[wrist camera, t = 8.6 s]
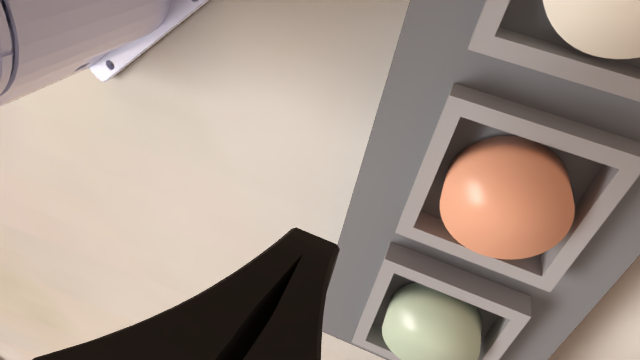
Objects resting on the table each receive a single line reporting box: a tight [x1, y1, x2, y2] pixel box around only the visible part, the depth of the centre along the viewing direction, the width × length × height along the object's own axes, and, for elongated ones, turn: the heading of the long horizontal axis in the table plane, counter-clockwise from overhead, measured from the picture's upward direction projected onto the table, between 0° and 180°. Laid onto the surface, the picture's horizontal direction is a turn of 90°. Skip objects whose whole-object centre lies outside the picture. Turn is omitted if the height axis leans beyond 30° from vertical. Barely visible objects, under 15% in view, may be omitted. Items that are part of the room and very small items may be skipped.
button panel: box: [322, 0, 640, 360], centre depth 18 cm, size 26×11×4 cm, turn 169°
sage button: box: [382, 283, 482, 360], centre depth 21 cm, size 4×4×2 cm
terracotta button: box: [440, 136, 575, 260], centre depth 17 cm, size 4×4×2 cm
